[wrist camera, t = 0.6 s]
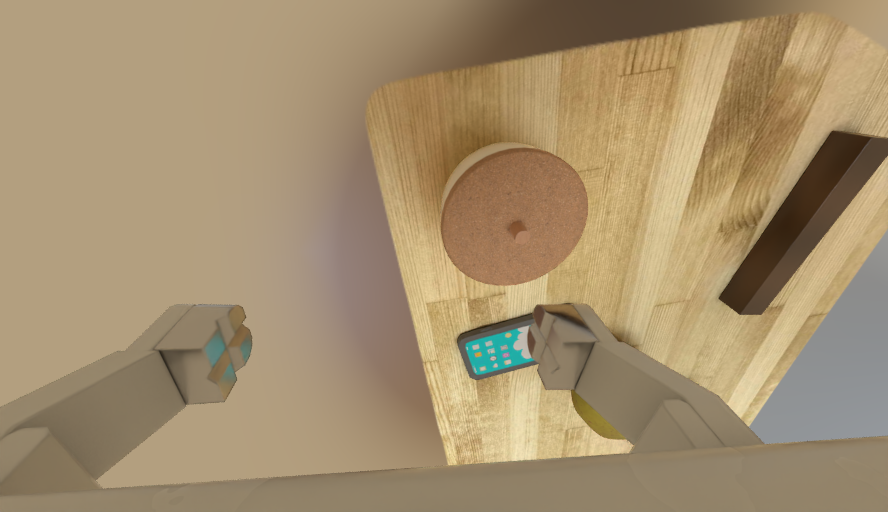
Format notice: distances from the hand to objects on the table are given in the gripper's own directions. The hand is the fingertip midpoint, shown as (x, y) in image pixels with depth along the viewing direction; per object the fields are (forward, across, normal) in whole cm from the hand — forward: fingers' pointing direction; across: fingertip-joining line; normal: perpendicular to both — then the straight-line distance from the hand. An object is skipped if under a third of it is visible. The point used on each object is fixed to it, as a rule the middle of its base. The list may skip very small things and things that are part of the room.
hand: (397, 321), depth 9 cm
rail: (+21, -41, +5) cm, 46 cm away
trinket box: (+21, -8, +3) cm, 23 cm away
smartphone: (+21, -15, +22) cm, 34 cm away
